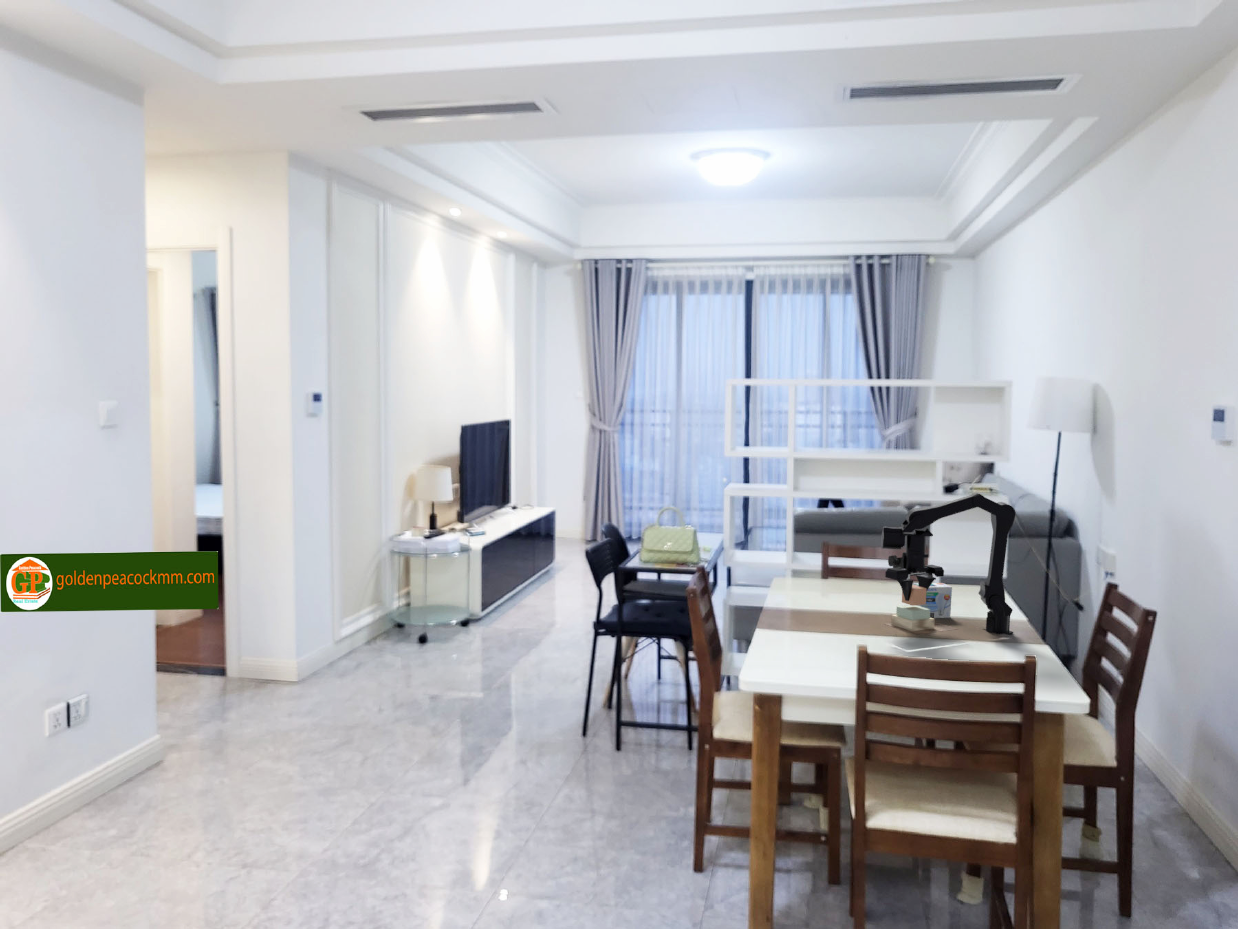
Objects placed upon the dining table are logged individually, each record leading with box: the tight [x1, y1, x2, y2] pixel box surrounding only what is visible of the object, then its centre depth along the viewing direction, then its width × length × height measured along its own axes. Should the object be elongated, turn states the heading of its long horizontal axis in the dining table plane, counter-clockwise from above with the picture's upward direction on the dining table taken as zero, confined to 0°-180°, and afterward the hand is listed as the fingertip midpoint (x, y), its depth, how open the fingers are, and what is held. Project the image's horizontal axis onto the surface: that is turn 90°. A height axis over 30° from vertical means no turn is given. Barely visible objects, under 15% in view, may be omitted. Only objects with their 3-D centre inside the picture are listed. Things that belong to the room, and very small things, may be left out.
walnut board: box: [885, 621, 958, 636], centre depth 298 cm, size 17×14×1 cm
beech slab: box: [890, 614, 936, 631], centre depth 298 cm, size 9×9×3 cm
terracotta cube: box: [901, 585, 926, 606], centre depth 297 cm, size 5×5×5 cm
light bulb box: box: [913, 582, 953, 619], centre depth 313 cm, size 11×7×11 cm, turn 99°
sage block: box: [895, 604, 930, 620], centre depth 298 cm, size 7×7×3 cm
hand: (913, 600), depth 298 cm, fingers closed on terracotta cube, 5 cm apart
